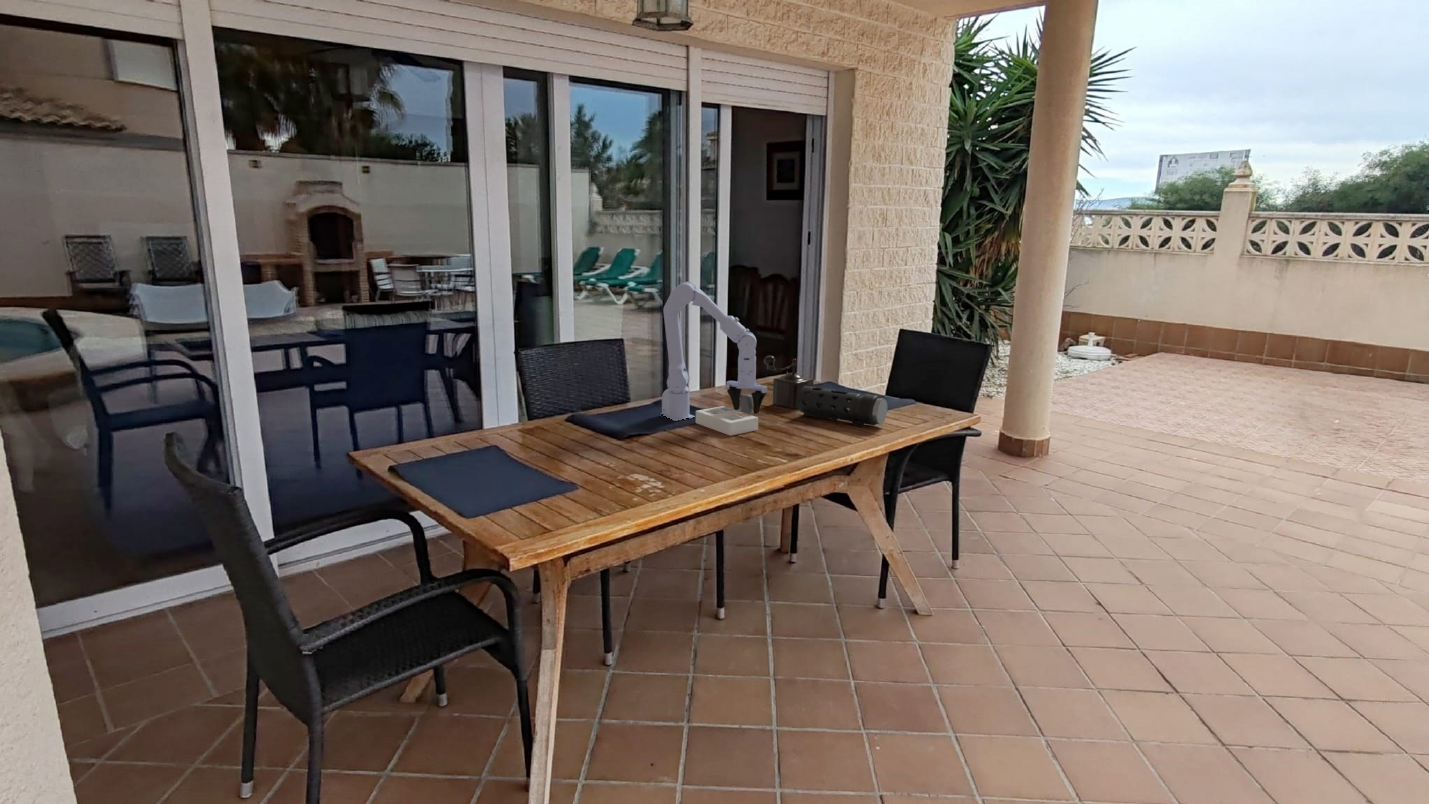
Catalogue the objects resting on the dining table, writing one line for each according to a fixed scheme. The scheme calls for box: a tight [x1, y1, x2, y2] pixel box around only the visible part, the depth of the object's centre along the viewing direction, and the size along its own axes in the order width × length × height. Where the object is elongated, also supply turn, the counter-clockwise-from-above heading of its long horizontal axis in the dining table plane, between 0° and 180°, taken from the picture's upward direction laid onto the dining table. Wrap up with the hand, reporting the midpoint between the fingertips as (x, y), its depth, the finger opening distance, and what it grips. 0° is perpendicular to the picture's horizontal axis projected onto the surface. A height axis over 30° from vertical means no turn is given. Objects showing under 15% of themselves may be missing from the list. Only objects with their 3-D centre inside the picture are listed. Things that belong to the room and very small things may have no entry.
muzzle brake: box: [797, 386, 888, 426], centre depth 247 cm, size 10×28×10 cm, turn 54°
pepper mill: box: [763, 355, 815, 410], centre depth 266 cm, size 16×11×18 cm
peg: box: [739, 393, 753, 416], centre depth 249 cm, size 4×4×8 cm
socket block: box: [695, 405, 759, 436], centre depth 241 cm, size 18×11×4 cm, turn 37°
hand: (746, 411), depth 249 cm, fingers open, 7 cm apart
